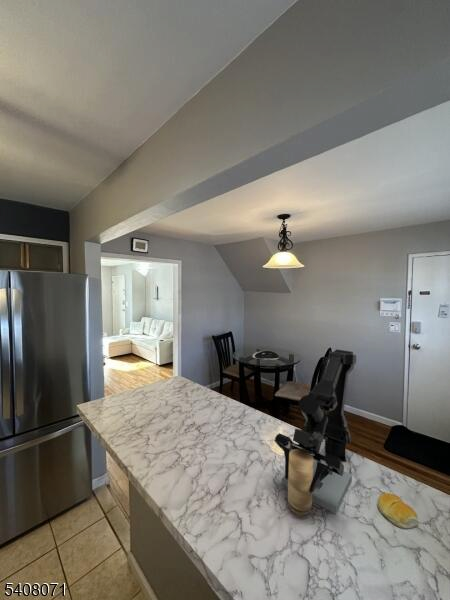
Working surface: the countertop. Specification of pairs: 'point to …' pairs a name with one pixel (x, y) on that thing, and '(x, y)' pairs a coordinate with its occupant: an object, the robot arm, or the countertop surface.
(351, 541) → the countertop surface
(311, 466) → the oak leg
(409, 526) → the bread roll
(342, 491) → the slate board
